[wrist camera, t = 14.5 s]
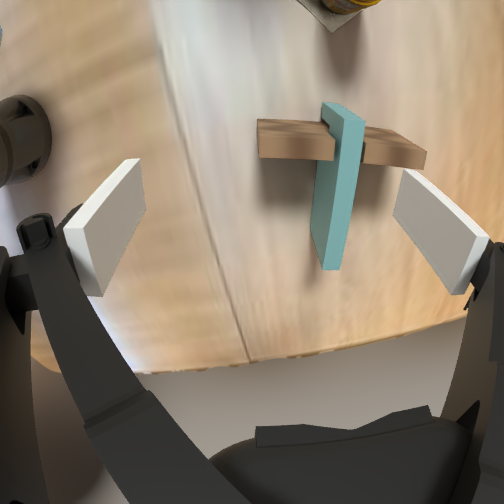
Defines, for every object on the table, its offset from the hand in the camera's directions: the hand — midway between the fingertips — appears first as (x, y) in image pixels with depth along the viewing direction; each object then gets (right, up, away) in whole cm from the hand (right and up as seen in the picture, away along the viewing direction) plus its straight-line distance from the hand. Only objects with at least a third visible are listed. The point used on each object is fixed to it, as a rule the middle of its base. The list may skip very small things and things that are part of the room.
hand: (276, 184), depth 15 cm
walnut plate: (+10, +14, +27) cm, 32 cm away
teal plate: (+9, +9, +30) cm, 33 cm away
